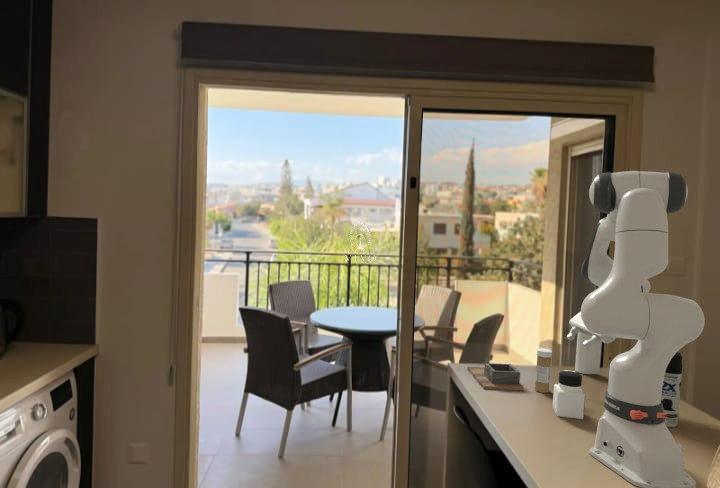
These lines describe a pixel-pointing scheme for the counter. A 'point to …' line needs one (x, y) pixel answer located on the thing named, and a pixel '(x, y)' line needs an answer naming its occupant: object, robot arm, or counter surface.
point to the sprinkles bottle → (543, 370)
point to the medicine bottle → (569, 395)
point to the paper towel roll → (587, 356)
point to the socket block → (497, 376)
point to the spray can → (672, 390)
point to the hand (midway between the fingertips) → (576, 342)
